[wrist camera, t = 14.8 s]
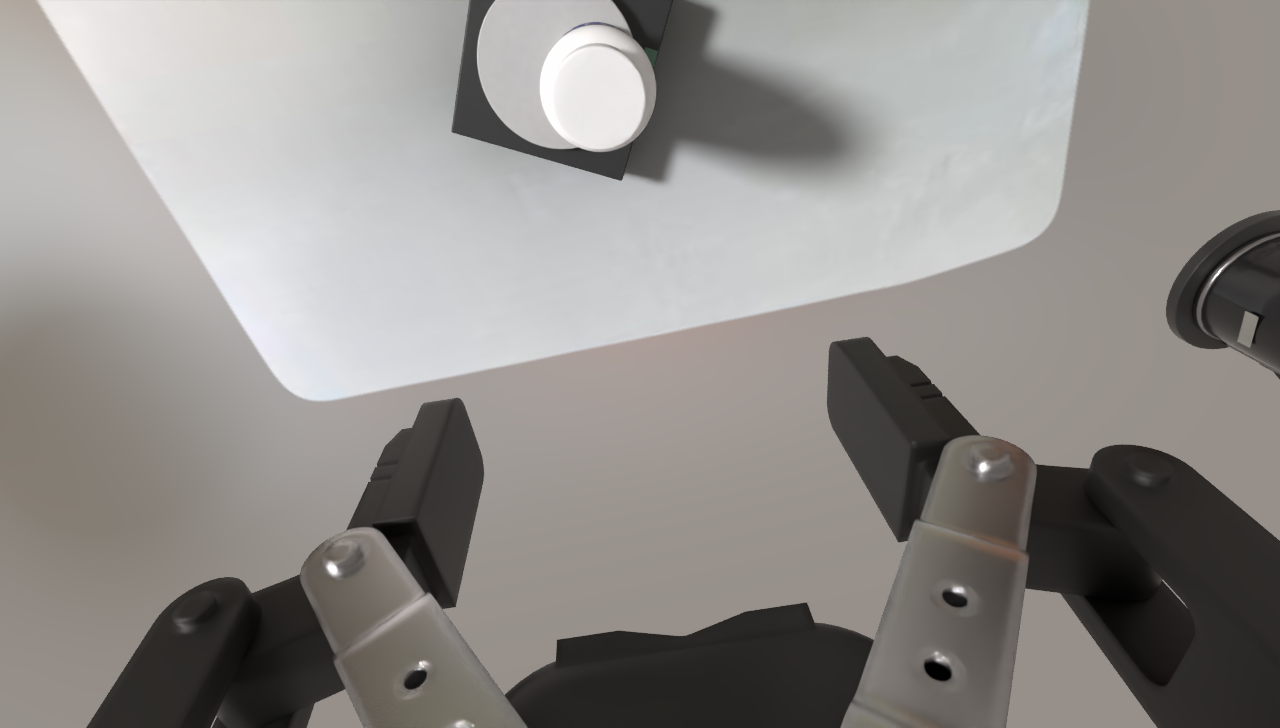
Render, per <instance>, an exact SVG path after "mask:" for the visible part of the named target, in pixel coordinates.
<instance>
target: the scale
mask: <svg viewBox="0 0 1280 728" xmlns="http://www.w3.org/2000/svg"><path fill="white" fill-rule="evenodd" d="M672 2H673V0H470V1H469V8H468V16H467V23H466V30H465V37H464V45H463V52H462V59H461V66H460V74H459V81H458V88H457V95H456V102H455V110H454V117H453V124H452V132H453V133H457V134H460V135H463V136H467V137H470V138H474V139H477V140H481V141H484V142H488V143H491V144H495V145H498V146H502V147H505V148H509V149H512V150H516V151H519V152H523V153H526V154H530V155H533V156H537V157H540V158H544V159H547V160H551V161H554V162H558V163H561V164H565V165H568V166H571V167H575V168H578V169H582V170H585V171H589V172H592V173H596V174H599V175H603V176H606V177H610V178H613V179H617V180H620V181H621V180H622V179H623V175H624V172H625V168H626V165H627V161H628V158H629V154H630V151H631V147H632V144H633V141H632V142H630V143H629V144H627V145H626V146H624V147H622V148H619V149H617V150H613V151H607V152H593V151H588V150H584V149H581V148H579V147H577V146H575V145H573V144H571V143H569V142H568V141H566V140H565V139H564V138H563V137H562V136H560V135H559V134H558V133H557V131H556V130H555V129H554V128H553V126H552V125H551V123H550V122H549V120H548V118H547V116H546V114H545V112H544V109H543V106H542V102H541V96H540V76H541V72H542V68H543V65H544V62H545V60H546V57H547V55H548V54H549V52H550V50H551V49H552V47H553V46H554V45H555V44H556V42H557V41H558V40H559V39H560V38H561V37H562V36H563V35H564V34H565V33H566V32H568V31H569V30H571V29H572V28H574V27H576V26H578V25H581V24H584V23H588V22H603V23H607V24H611V25H613V26H615V27H618V28H619V29H621V30H623V31H624V32H625V33H627V34H628V35H629V36H631V37H632V38H633V39H634V40H635V41H636V42H637V43H638V44H639V45H640V46H641V47H642V49H643V50H644V52H645V53H646V55H647V57H648V58H649V61H650V63H651V65H652V68H653V69H654V66H655V62H656V59H657V55H658V51H659V48H660V44H661V41H662V37H663V34H664V30H665V27H666V23H667V20H668V16H669V12H670V9H671V5H672Z"/></svg>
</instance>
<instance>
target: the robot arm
mask: <svg viewBox="0 0 1280 728" xmlns="http://www.w3.org/2000/svg"><path fill="white" fill-rule="evenodd" d="M1192 317H1193V321H1194V323H1195V325H1196V326H1197V328H1198V329H1199V330H1200V331H1202V332H1203V333H1205V334H1207V335H1209V336H1211V337H1213V338H1215V339H1218V340H1221V342H1222V343H1223V344H1225V345H1227V346H1228V347H1230V348H1232V349H1234V350H1236V351H1238V352H1240V353H1241V354H1244V355H1245V356H1247V357H1249V358H1251V359H1253V360H1255V361H1256V362H1258V363H1259V364H1261V365H1262V366H1264V367H1266V368H1268V369H1270V370H1272V371H1273V372H1274V373H1275V374H1276V375H1277V377H1278V378H1279V379H1280V231H1273V232H1269V233H1266V234H1262V235H1260V236H1257V237H1255V238H1253V239H1251V240H1249V241H1247V242H1245V243H1243V244H1241V245H1240V246H1238V247H1237V248H1235V249H1234V250H1232V251H1231V252H1230V253H1228V254H1227V255H1226V256H1225V257H1224V258H1222V259H1221V260H1220V261H1219V262H1218V263H1217V264H1216V265H1215V266H1214V267H1213V268H1212V269H1211V271H1210V272H1209V273H1208V274H1207V276H1206V277H1205V278H1204V280H1203V281H1202V283H1201V285H1200V286H1199V288H1198V290H1197V292H1196V295H1195V297H1194V301H1193V305H1192ZM827 407H828V414H829V419H830V422H831V425H832V427H833V430H834V431H835V433H836V435H837V437H838V438H839V440H840V442H841V443H842V445H843V447H844V449H845V451H846V452H847V454H848V456H849V457H850V459H851V461H852V462H853V464H854V466H855V468H856V470H857V471H858V473H859V475H860V476H861V478H862V480H863V482H864V483H865V485H866V487H867V489H868V490H869V492H870V494H871V496H872V497H873V499H874V501H875V502H876V504H877V506H878V508H879V509H880V511H881V513H882V515H883V516H884V518H885V520H886V522H887V523H888V525H889V527H890V528H891V530H892V532H893V534H894V535H895V537H896V539H897V541H898V542H904V541H907V544H906V547H905V550H904V553H903V556H902V559H901V562H900V565H899V568H898V571H897V574H896V577H895V580H894V583H893V585H892V589H891V591H890V594H889V597H888V600H887V603H886V606H885V609H884V612H883V615H882V618H881V621H880V624H879V627H878V630H877V633H876V636H875V639H874V640H873V639H871V638H869V637H866V636H864V635H862V634H859V633H857V632H855V631H852V630H848V629H845V628H842V627H839V626H834V625H829V624H823V623H814V620H813V618H812V615H811V613H810V610H809V607H808V605H807V603H801V604H795V605H787V606H781V607H774V608H768V609H761V610H754V611H748V612H744V613H741V614H739V615H737V616H734V617H732V618H729V619H727V620H724V621H722V622H719V623H717V624H714V625H712V626H710V627H707V628H705V629H702V630H700V631H697V632H695V633H693V634H690V635H687V636H670V635H659V634H648V633H637V632H626V631H614V632H607V633H601V634H594V635H588V636H581V637H574V638H567V639H560V640H557V653H556V661H555V662H553V663H550V664H548V665H546V666H544V667H542V668H541V669H539V670H537V671H535V672H533V673H532V674H530V675H529V676H527V677H526V678H524V679H523V680H522V681H520V682H519V683H518V684H517V685H515V686H514V687H513V688H512V689H511V690H510V691H508V692H507V693H506V694H505V695H504V694H503V692H502V691H501V690H500V688H499V687H498V686H497V684H496V683H495V681H494V680H493V679H492V677H491V676H490V674H489V673H488V672H487V670H486V669H485V668H484V666H483V665H482V663H481V662H480V661H479V659H478V658H477V656H476V655H475V654H474V652H473V651H472V650H471V648H470V647H469V645H468V644H467V643H466V641H465V640H464V639H463V637H462V636H461V634H460V633H459V632H458V630H457V629H456V627H455V626H454V625H453V623H452V622H451V621H450V619H449V618H448V616H447V615H446V614H445V612H444V611H443V609H445V608H451V607H456V602H457V598H458V593H459V588H460V584H461V580H462V575H463V570H464V566H465V561H466V557H467V553H468V548H469V544H470V539H471V534H472V530H473V525H474V521H475V516H476V512H477V507H478V503H479V498H480V493H481V489H482V485H483V478H484V468H483V460H482V455H481V452H480V449H479V446H478V443H477V440H476V437H475V434H474V432H473V429H472V426H471V423H470V420H469V417H468V414H467V411H466V409H465V406H464V404H463V402H462V400H461V399H459V398H454V399H447V400H441V401H435V402H427V403H424V404H423V405H422V406H421V408H420V410H419V413H418V415H417V418H416V420H415V422H414V425H413V427H412V428H409V429H402V430H401V431H400V432H399V433H398V434H397V435H396V436H395V437H394V438H393V439H392V440H391V441H390V442H389V443H388V444H387V445H386V446H385V448H384V450H383V452H382V454H381V457H380V459H379V461H378V463H377V467H375V469H374V472H373V474H372V476H371V478H370V479H371V482H368V484H367V487H366V489H365V491H364V493H363V495H362V497H361V500H360V502H359V504H358V506H357V508H356V511H355V513H354V515H353V517H352V519H351V522H350V524H349V526H348V528H347V530H346V531H344V532H341V533H339V534H337V535H335V536H333V537H331V538H329V539H328V540H326V541H325V542H323V543H322V544H321V545H319V546H318V547H317V548H316V549H315V550H314V551H313V552H312V553H311V554H310V555H309V556H308V558H307V559H306V561H305V562H304V564H303V566H302V568H301V572H300V575H297V576H295V577H293V578H290V579H288V580H285V581H283V582H280V583H277V584H275V585H272V586H270V587H267V588H265V589H262V590H259V591H257V592H255V593H251V592H250V591H249V589H248V587H247V586H246V585H245V583H244V582H243V581H242V580H240V579H237V578H233V577H225V578H218V579H214V580H211V581H208V582H205V583H203V584H201V585H198V586H196V587H194V588H193V589H191V590H189V591H188V592H186V593H184V594H183V595H182V596H180V597H178V598H177V599H176V600H175V601H173V602H172V603H171V604H170V605H169V606H168V607H167V608H166V609H165V610H164V611H163V612H162V613H161V614H160V615H159V617H158V618H157V619H156V621H155V622H154V623H153V625H152V627H151V628H150V630H149V631H148V633H147V634H146V636H145V638H144V639H143V640H142V642H141V644H140V645H139V647H138V648H137V650H136V651H135V653H134V654H133V656H132V658H131V659H130V661H129V662H128V664H127V665H126V667H125V669H124V670H123V672H122V673H121V675H120V676H119V678H118V680H117V681H116V683H115V684H114V686H113V687H112V689H111V690H110V692H109V693H108V695H107V697H106V698H105V700H104V701H103V703H102V704H101V706H100V708H99V709H98V711H97V712H96V714H95V715H94V717H93V718H92V720H91V722H90V723H89V725H88V726H87V728H210V727H211V725H212V723H213V721H214V719H215V716H217V718H216V720H215V722H214V725H213V727H212V728H306V727H307V725H308V721H309V719H310V716H311V712H312V710H313V706H314V704H315V703H316V702H318V701H320V700H322V699H324V698H327V697H329V696H331V695H333V694H336V693H338V692H340V691H342V690H344V689H346V691H347V693H348V695H349V697H350V699H351V701H352V703H353V706H354V708H355V710H356V712H357V714H358V716H359V718H360V721H361V723H362V725H363V727H364V728H1006V723H1007V716H1008V709H1009V708H1008V707H1009V700H1010V694H1011V687H1012V679H1013V672H1014V665H1015V658H1016V650H1017V643H1018V636H1019V629H1020V621H1021V614H1022V607H1023V599H1024V592H1025V588H1027V589H1034V590H1042V591H1050V592H1058V593H1061V595H1062V596H1063V598H1064V599H1065V600H1066V602H1067V603H1068V604H1069V606H1070V607H1071V608H1072V610H1073V611H1074V613H1075V614H1076V616H1077V617H1078V618H1079V620H1080V621H1081V623H1082V624H1083V625H1084V627H1085V628H1086V629H1087V630H1088V632H1089V634H1090V635H1091V636H1092V638H1093V639H1094V640H1095V641H1096V643H1097V645H1098V646H1099V647H1100V649H1101V650H1102V652H1103V653H1104V654H1105V656H1106V657H1107V658H1108V660H1109V661H1110V663H1111V664H1112V665H1113V667H1114V668H1115V669H1116V671H1117V672H1118V674H1119V675H1120V676H1121V678H1122V679H1123V681H1124V682H1125V683H1126V685H1127V686H1128V687H1129V689H1130V690H1131V692H1132V693H1133V694H1134V696H1135V697H1136V699H1137V700H1138V701H1139V703H1140V704H1141V705H1142V707H1143V708H1144V710H1145V711H1146V712H1147V714H1148V715H1149V717H1150V718H1151V719H1152V721H1153V722H1154V723H1155V725H1156V726H1157V728H1280V541H1279V540H1278V539H1277V538H1276V537H1274V536H1273V535H1272V534H1271V533H1269V532H1268V531H1267V530H1266V529H1265V528H1264V527H1263V526H1261V525H1260V524H1259V523H1258V522H1257V521H1255V520H1254V519H1253V518H1252V517H1251V516H1249V515H1248V514H1247V513H1246V512H1245V511H1243V510H1242V509H1241V508H1240V507H1238V506H1237V505H1236V504H1235V503H1234V502H1233V501H1231V500H1230V499H1229V498H1228V497H1227V496H1225V495H1224V494H1223V493H1222V492H1220V491H1219V490H1218V489H1217V488H1216V487H1215V486H1213V485H1212V484H1211V483H1210V482H1209V481H1207V480H1206V479H1205V478H1204V477H1203V476H1201V475H1200V474H1199V473H1198V472H1197V471H1195V470H1194V469H1193V468H1192V467H1190V466H1189V465H1187V464H1186V463H1185V462H1183V461H1181V460H1180V459H1178V458H1176V457H1173V456H1172V455H1169V454H1167V453H1164V452H1162V451H1159V450H1155V449H1152V448H1147V447H1143V446H1136V445H1114V446H1108V447H1105V448H1102V449H1101V450H1099V451H1098V452H1097V453H1095V455H1094V457H1093V459H1092V462H1091V465H1090V468H1089V469H1085V468H1071V467H1058V466H1045V465H1037V464H1035V463H1034V461H1033V460H1032V458H1031V457H1030V456H1029V455H1028V454H1027V453H1026V452H1024V451H1023V450H1022V449H1020V448H1019V447H1017V446H1016V445H1014V444H1011V443H1009V442H1007V441H1004V440H1001V439H998V438H994V437H988V436H981V435H980V434H979V433H978V432H977V431H976V430H975V429H974V428H973V427H972V425H971V424H970V423H969V422H968V421H967V420H966V419H965V418H964V417H963V416H962V415H961V413H960V412H959V411H958V410H957V409H956V408H955V407H954V406H953V405H952V404H951V402H950V401H949V400H948V399H947V398H946V397H945V396H944V397H943V396H942V393H941V391H940V390H939V389H938V388H937V387H936V386H935V385H934V384H931V381H930V379H928V377H927V376H926V375H925V374H924V373H923V372H922V371H921V370H920V368H919V367H917V366H916V365H913V364H912V363H910V362H908V361H906V360H904V359H902V358H900V357H898V356H890V357H886V356H885V355H884V354H883V353H882V351H881V350H880V349H879V348H878V347H877V346H876V344H875V343H874V342H873V341H872V340H871V339H870V338H869V337H862V338H856V339H850V340H842V341H836V342H832V343H831V345H830V348H829V365H828V391H827ZM1162 580H1164V581H1165V582H1166V583H1167V584H1168V585H1169V586H1170V587H1171V588H1172V590H1173V591H1174V592H1175V593H1176V594H1177V595H1178V596H1179V597H1180V598H1181V600H1182V601H1183V602H1184V603H1185V605H1186V606H1187V607H1186V606H1185V605H1184V604H1183V603H1182V602H1181V601H1180V600H1179V599H1178V598H1177V597H1176V595H1175V594H1174V593H1173V592H1172V591H1171V590H1170V589H1169V588H1168V587H1167V586H1166V584H1164V582H1163V581H1162ZM1188 609H1189V610H1188Z"/></svg>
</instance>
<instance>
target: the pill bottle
mask: <svg viewBox="0 0 1280 728" xmlns="http://www.w3.org/2000/svg"><path fill="white" fill-rule="evenodd" d="M540 96H541V102H542V106H543V109H544V112H545V114H546V116H547V118H548V120H549V122H550V123H551V125H552V126H553V128H554V129H555V130H556V131H557V133H558V134H559V135H560V136H562V137H563V138H564V139H565V140H566V141H568V142H569V143H571V144H573V145H575V146H577V147H579V148H581V149H584V150H588V151H593V152H607V151H613V150H617V149H619V148H622V147H624V146H626V145H627V144H629V143H630V142H632V141H633V140H634V139H636V138H637V137H638V136H639V135H640V133H641V132H642V131H643V130H644V128H645V127H646V125H647V124H648V122H649V120H650V118H651V115H652V113H653V110H654V106H655V101H656V80H655V75H654V71H653V68H652V65H651V63H650V61H649V58H648V57H647V55H646V53H645V52H644V50H643V49H642V47H641V46H640V45H639V44H638V43H637V42H636V41H635V40H634V39H633V38H632V37H631V36H629V35H628V34H627V33H625V32H624V31H623V30H621V29H619V28H618V27H615V26H613V25H611V24H607V23H603V22H588V23H584V24H581V25H578V26H576V27H574V28H572V29H571V30H569V31H568V32H566V33H565V34H564V35H563V36H562V37H561V38H560V39H559V40H558V41H557V42H556V44H555V45H554V46H553V47H552V49H551V50H550V52H549V54H548V55H547V57H546V60H545V62H544V65H543V68H542V72H541V76H540Z"/></svg>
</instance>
